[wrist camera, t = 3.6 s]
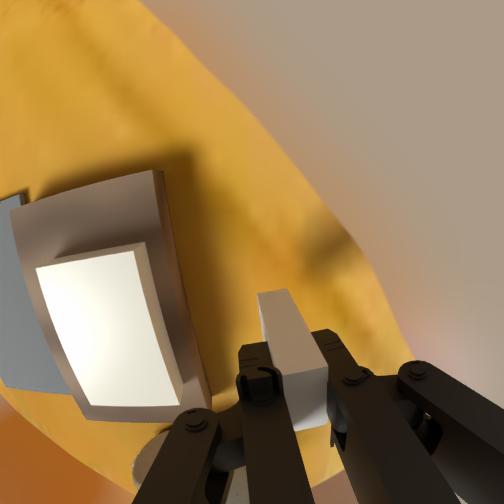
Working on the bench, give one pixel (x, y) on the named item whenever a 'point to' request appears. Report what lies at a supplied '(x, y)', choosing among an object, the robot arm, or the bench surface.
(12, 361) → the mat
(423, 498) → the robot arm
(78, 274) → the white rectangular block
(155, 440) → the ceramic mug
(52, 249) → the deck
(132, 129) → the bench surface
